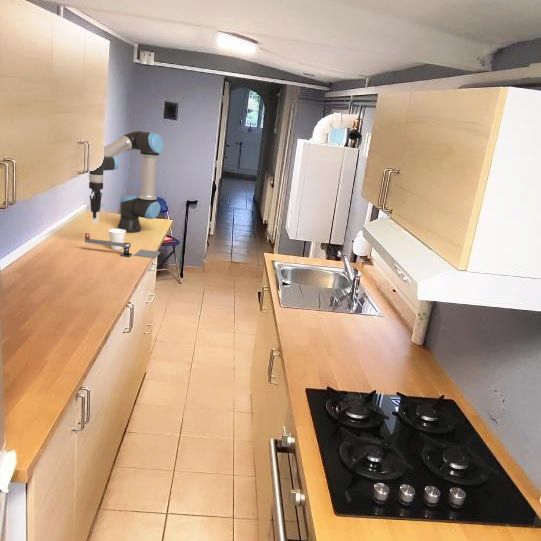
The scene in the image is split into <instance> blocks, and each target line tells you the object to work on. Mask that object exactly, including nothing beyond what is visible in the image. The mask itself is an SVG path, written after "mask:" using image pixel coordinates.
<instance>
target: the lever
mask: <svg viewBox="0 0 541 541" xmlns="http://www.w3.org/2000/svg"><path fill="white" fill-rule="evenodd" d="M90 235H91V234H90V232H88V233H87V232H85V234H84V243H86V244H98V245H103V246H110V247H111V246H119V247H123V249H124V248H129V249H130V248H131V246H132V245H131V243H130V242H124V243H120V242H112V241H110V240H102V239H95V238H90Z"/></svg>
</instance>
